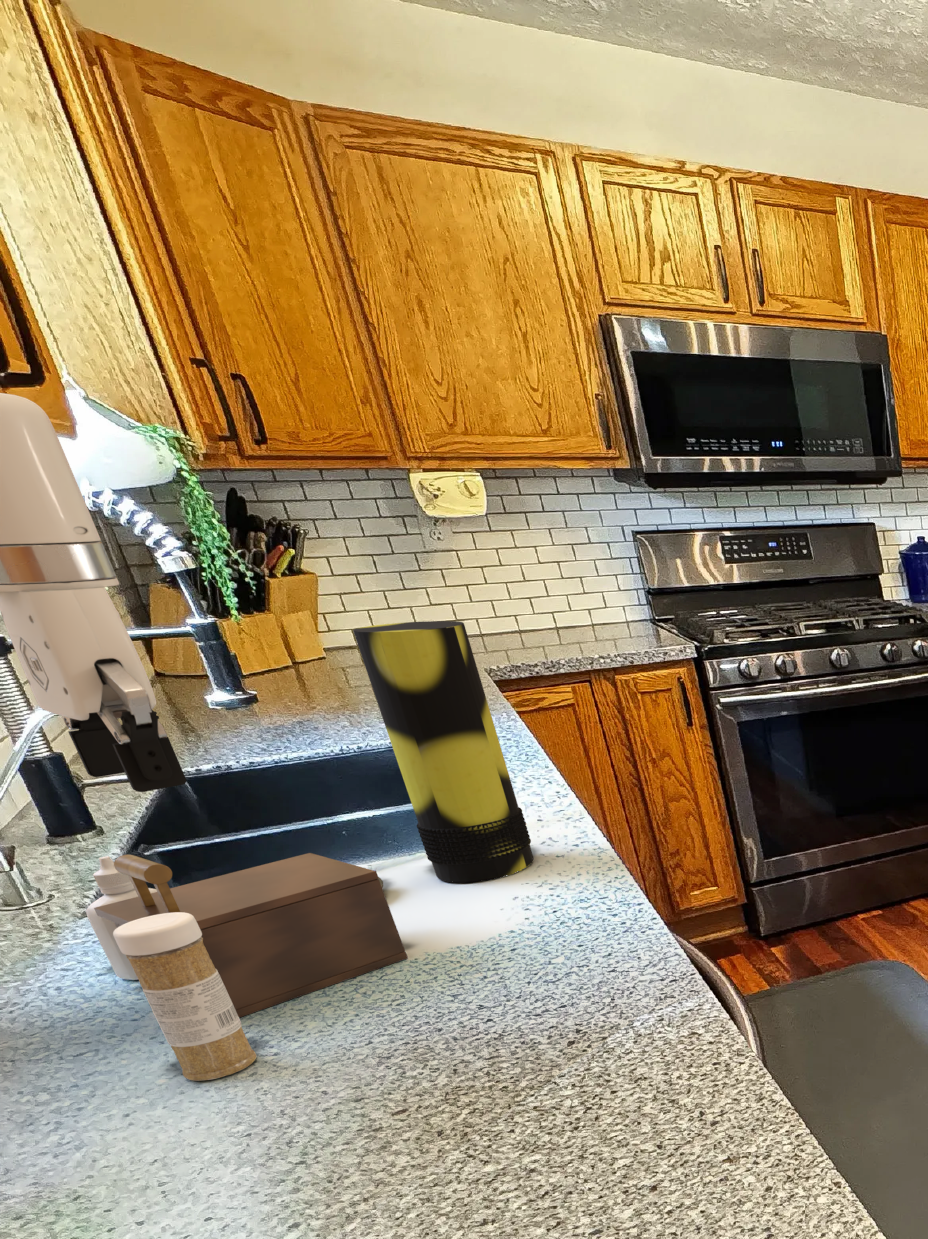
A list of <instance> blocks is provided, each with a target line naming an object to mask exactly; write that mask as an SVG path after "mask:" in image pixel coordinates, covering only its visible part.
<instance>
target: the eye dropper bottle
mask: <svg viewBox="0 0 928 1239" xmlns="http://www.w3.org/2000/svg"><path fill="white" fill-rule="evenodd" d="M98 860H99V866H100V868H99V870H96V871H95V872H94V873H93V874H92V876H93V879H94V881H95V882H96V884H97V886H98V888H99V890H100V892H101V893H100V894H102V896H101V897H99V898H97V899H96V900H94V901H93V902H92V903H91V904H89V905H88V907H87V908H86V910H85V913H86V916H87V919H88V921H89V924H90V926H91V927H92V929H93V932H94V934H95V936H96V938H97V940H98V942H99V944H100V946H101V948H102V950H103V952H104V954H105V956H106V958H107V960H108V962H109V964H110V966H111V968H112V970H113V972H114V974H115V976H116V977H117V978H119V979H122V980H128V981H129V980H130V981H137V980H138V981H139V979H138V977H137V975H136V973H135V972H134V969H133V967H132V965H131V963H130V961H129V959H128V958H127V957H126V955H125V954H123V953H122V952H121V951H120V949H119V947H118V945H117V943H116V940H115V938H114V936H113V932H114V930H115V929H116V928H117V927H116V925H115V923H114V922H112V921H110V920H107V919H105V918H102V917H100V916H97V914H96V911H95V909H94V908H96V907H99V906H103V905H107V904H111V903H115V902H119V901H123V900H127V899H131V898H135V897H138V895H137V893H136V891H135V889H134V887H133V885H132V882H131V880H130V878H129V876H128V875H125V874H122V873H120V872H118V871H117V870H116V869H115V867H114V862H115V861H113V859H112V858H111V857H110V856H108V855H105V856H101V857H98ZM148 889H149V891H150V893H154V892H157V890H156V888H151V887H148Z"/></svg>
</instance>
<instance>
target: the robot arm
mask: <svg viewBox="0 0 928 1239" xmlns="http://www.w3.org/2000/svg"><path fill="white" fill-rule="evenodd" d="M70 465H71V464H70V463H69V460H68V458H67V455H66V453H65V450H64V449H63V446H62V444H61V442H60V439H59V437H58V435H57V432H56V429H55V427H54V426H53V423H52V422H51V420H50V417H49V415H48V414H47V412H46V411H45V410H44V409H43V408H42V407H41V406H40V405H38V404H37V403H36V402H35V401H32V400H31V399H28V398H27V397H24V396H19V395H18V394H17V395H16V394H11V393H4V392H0V615H1V618H2V620H3V623H4V625H5V628H6V631H7V634H8V636H9V638H10V642H11V643H12V646H13V649H14V651H15V653H16V657H17V658H18V661H19V663H20V666H21V668H22V670H23V673H24V675H25V678H26V680H27V682H28V685H29V687H30V690H31V692H32V694H33V697H34V700H35V701H36V703H37V705H38V706H39V707H40V708H41V709H42V710H44V711H46V712H49V713H51V714H55V715H58V716H60V717H61V716H62V719H63V722H64V725H65V726H66V727H67V729H68V731H67V732H68V735H69V737H70V738H71V741H72V743H73V745H74V748H75V750H76V752H77V754H78V756H79V758H80V760H81V762H82V765H83V766H84V769H85V771H86V773H87V775H89V776H91V777H93V778H101V777H106V776H113V775H120V774H123V773H124V774H125V776H126V778H127V780H128V782H129V785H130V787H131V789H132V790H133V791H135V792H138V793H144V792H145V793H146V792H151V791H157V790H162V789H167V788H173V787H177V786H178V787H179V786H183V785H185V784H186V783H187V777H186V775H185V773H184V771H183V769H182V766H181V764H180V761H179V758H178V756H177V755H176V752H175V750H174V748H173V744H172V743H171V741H170V738H169V736H168V733H167V731H166V729H165V727H164V726H163V724H162V723H161V721H160V720H159V719H160V717H159V715H157V714H158V712H157V711H155V710H153V709H154V708H155V707H156V705H157V698H156V695H155V691H154V689H153V687H152V684H151V681H150V679H149V677H148V674H147V671H146V669H145V666H144V664H143V662H142V661H141V658H140V656H139V653H138V651H137V649H136V647H135V645H134V642H133V640H132V639H131V637H130V635H129V632H128V630H127V628H126V625H125V624H124V622H123V620H122V617H121V615H120V612H119V611H118V610H117V608H116V606H115V604H114V602H113V600H112V598H111V596H110V595H109V593H108V591H107V589H106V588H107V587H114V586H119V585H120V581H119V579H118V577H117V575H116V572H115V570H114V568H113V565H112V562H111V560H110V558H109V556H108V553H107V550H106V549H105V546H104V544H103V542H102V539H101V537H100V535H99V532H98V529H97V527H96V525H95V522H94V520H93V517H92V515H91V513H90V510H89V508H88V506H87V503H86V501H85V498H84V496H83V494H82V492H81V489H80V487H79V484H78V482H77V479H76V477H75V475H74V473H73V470H72V468H71V466H70ZM118 719H120V721H121V722H120V721H119V720H118Z"/></svg>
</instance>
